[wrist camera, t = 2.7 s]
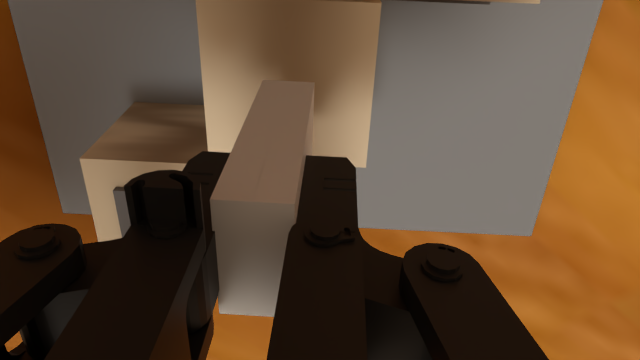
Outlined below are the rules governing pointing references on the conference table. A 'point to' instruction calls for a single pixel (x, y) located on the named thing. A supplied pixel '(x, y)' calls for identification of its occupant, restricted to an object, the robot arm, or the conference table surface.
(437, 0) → the marked block
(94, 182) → the marked block
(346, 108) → the plain block
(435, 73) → the mat
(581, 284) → the conference table surface
